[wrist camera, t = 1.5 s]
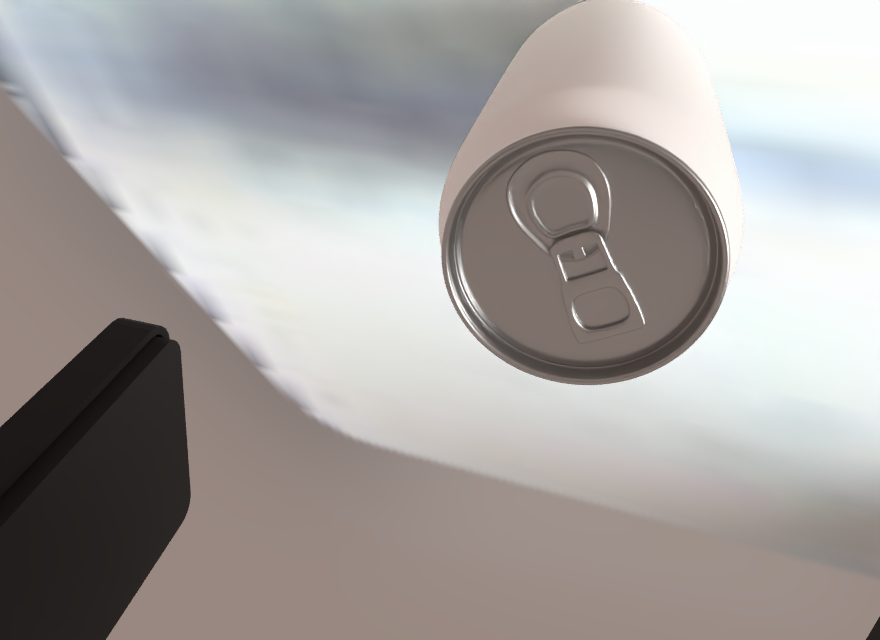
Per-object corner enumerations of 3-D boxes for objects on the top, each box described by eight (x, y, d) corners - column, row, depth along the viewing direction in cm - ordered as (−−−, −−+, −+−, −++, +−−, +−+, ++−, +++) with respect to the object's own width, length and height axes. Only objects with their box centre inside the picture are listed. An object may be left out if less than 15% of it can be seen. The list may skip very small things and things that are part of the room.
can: (675, -43, 24) (698, 46, 14) (736, 159, 26) (793, 360, 16) (473, 45, 26) (366, 174, 16) (546, 222, 29) (493, 430, 19)
